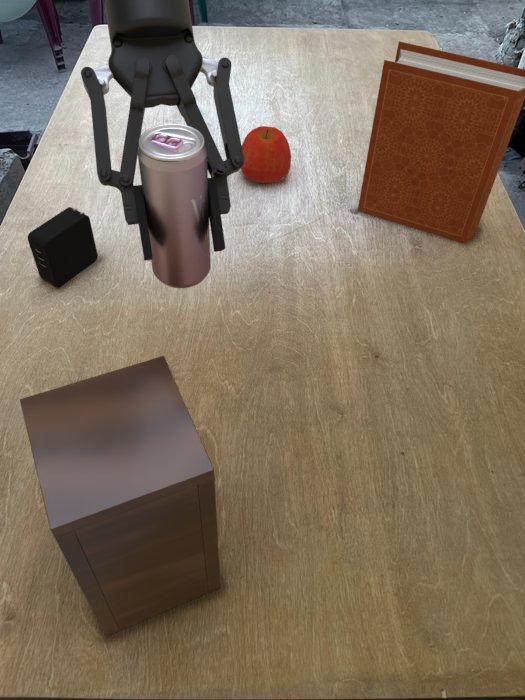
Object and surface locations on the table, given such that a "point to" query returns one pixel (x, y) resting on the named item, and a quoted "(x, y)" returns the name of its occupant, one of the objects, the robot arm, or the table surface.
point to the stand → (127, 491)
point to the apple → (266, 155)
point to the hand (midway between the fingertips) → (184, 254)
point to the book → (439, 139)
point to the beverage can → (176, 203)
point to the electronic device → (63, 246)
